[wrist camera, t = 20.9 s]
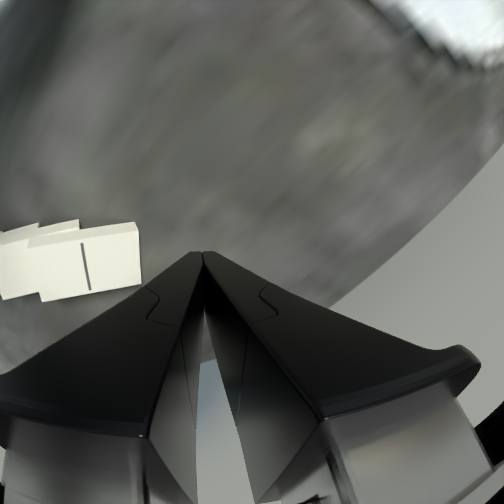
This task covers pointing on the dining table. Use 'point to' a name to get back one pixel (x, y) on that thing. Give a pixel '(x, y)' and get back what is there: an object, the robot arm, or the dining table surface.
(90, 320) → the robot arm
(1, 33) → the dining table surface
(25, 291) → the domino
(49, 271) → the domino
